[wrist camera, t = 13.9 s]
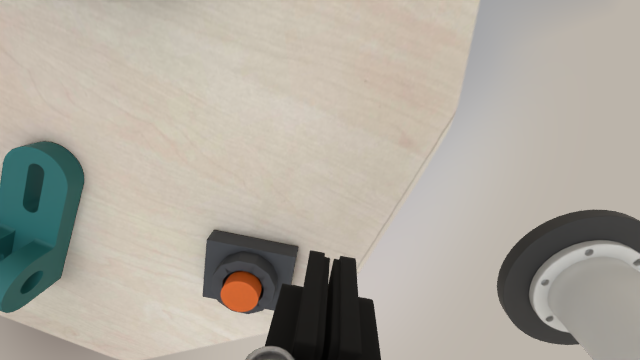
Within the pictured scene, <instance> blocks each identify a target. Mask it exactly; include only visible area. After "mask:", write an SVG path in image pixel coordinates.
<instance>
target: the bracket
mask: <svg viewBox="0 0 640 360" xmlns="http://www.w3.org/2000/svg"><path fill="white" fill-rule="evenodd" d="M83 184H84V174H83V170H82V168H81V165H80V164H79V162H78V160H77V159H76V158H75V157H74V155H73V154H72V153H70V152H69V151H68V150H67V149H65V148H64V147H62V146H60V145H58V144H55V143H52V142H46V141H43V142H37V143H33V144H29V145H25V146H21V147H17V148H14V149H12V150H11V151H10V152H8V154H7V155H6V156H5V158H4V162H3V168H2V176H1V183H0V311H2V312H5V313H10V312H13V311H16V310H18V309H20V308H21V307H23V306H24V305H26V304H27V303H29V302H30V301H31V300H32V299H34V298H35V297H36V296H38V295H39V294H40V293H42V292H43V291H44V290H46V289H47V288H48V287H49V286H51V285H52V284H53V283H55V282H56V281H57V280H59V279H60V278H61V275H62V271H63V266H64V262H65V258H66V254H67V250H68V246H69V242H70V238H71V234H72V230H73V225H74V221H75V217H76V213H77V209H78V205H79V201H80V197H81V193H82V188H83Z"/></svg>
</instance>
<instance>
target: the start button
mask: <svg viewBox="0 0 640 360" xmlns="http://www.w3.org/2000/svg"><path fill="white" fill-rule="evenodd" d="M261 291H262V286H261V283H260V281H259V279H258V278H257V277H256V276H255V275H253V274H251V273H249V272H245V271H238V272H234V273H232V274H231V275H230V276H229V277H228V278H227V280H226V282H225V284H224V286H223V288H222V290H221V299H222V301H223V303H224V304H225V305H226V306H227V307H228V308H230V309H231V310H234V311H237V312H246V311H249V310H251V309H253V308H254V307H255V306H256V305H257V303H258V300H259V297H260V294H261Z"/></svg>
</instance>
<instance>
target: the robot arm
mask: <svg viewBox="0 0 640 360" xmlns="http://www.w3.org/2000/svg"><path fill="white" fill-rule="evenodd" d="M324 255H325V253H322V252H316V251H311V250H310V254H309V260H308V265H307V271H306V276H305V282H304V287H301V286H295V285H290V284H284V283H282V286H281V289H280V293H279V297H278V300H277V304H276V308H275V311H274V315H273V318H272V322H271V326H270V329H269V333H268V337H267V340H266V344H265V347H262V348H259V349H256V350H254V351H253V352H252V353H251V354H249V355H248V356H247V358H246V359H245V360H381V356H380V348H379V341H378V333H377V326H376V319H375V311H374V304H373V300H371V299H366V298H360V297H358V287H357V272H356V259H355V258H349V257H344V256H340V259H339V260H338V259H334V261H333V266H332V270H331V275H330V279H329V284H328V278H329V263H330V258H327V257H324ZM529 298H530V303H531V306H532V308H533V310H534V311H535V312H536V314H537V315H538V316H539V318H540V319H541V320H542V321H543V322H544V323H546V324H547V325H549V326H550V327H552V328H554V329H557V330H560V331H564V332H569V333H571V334H572V336H573V337H574V338H575V339H576V340H577V341H578V343H579V344H580V345H581V346H582V347H583V348H584V349H585V351H586V352H587V353H588V354H589V355H590V356H591V357H592V359H593V360H640V253H638V252H637V251H635V250H633V249H632V248H630V247H629V246H626V245H624V244H622V243H619V242H614V241H609V240H594V241H586V242H582V243H578V244H574V245H572V246H570V247H567V248H565V249H563V250H561V251H559V252H558V253H556V254H554V255H553V256H552V257H550V258H549V259H548V260H547V261H546V262H544V264H543V265H542V266H541V267H540V268H539V269H538V270H537V272H536V274H535V275H534V277H533V279H532V282H531V285H530V290H529Z"/></svg>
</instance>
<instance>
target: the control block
mask: <svg viewBox="0 0 640 360" xmlns="http://www.w3.org/2000/svg"><path fill="white" fill-rule="evenodd" d="M297 252H298V247H297V246H292V245H287V244H282V243H277V242H272V241H267V240H262V239H257V238H252V237H247V236H242V235H237V234H232V233H227V232H222V231H217V230H214V231H213V232H212V234H211V235H210V236H209V238H208V239H207V244H206V258H205V272H204V285H203V297H208V298H213V299H217V300H218V302H220V303H221V304H223V305H224V306H226V305H225V304H224V303H223V301H222V299H221V290H222V288H223V286H224V284H225V282H226V280H227V278H228V277H229V276H230V275H231V274H232V273H234V272H238V271H245V272H249V273H251V274H253V275H255V276H256V277H257V278H258V279H259V281H260V283H261V286H262V291H261V294H260V297H259V300H258V303H257V305H256V306H255V307H254V308H253V309H251V310H249V311H246V312H240V313H245V314H250V313H254V312H259V311H262V310H264V309H269V310H274V311H275V308H276V304H277V300H278V297H279V293H280V289H281V286H282V283H284V284H290V285H291V282H292V277H293V272H294V267H295V262H296V257H297ZM226 307H227V306H226ZM227 308H228V307H227ZM229 309H230V308H229ZM230 310H231V309H230ZM232 311H234V310H232ZM235 312H237V311H235Z"/></svg>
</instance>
